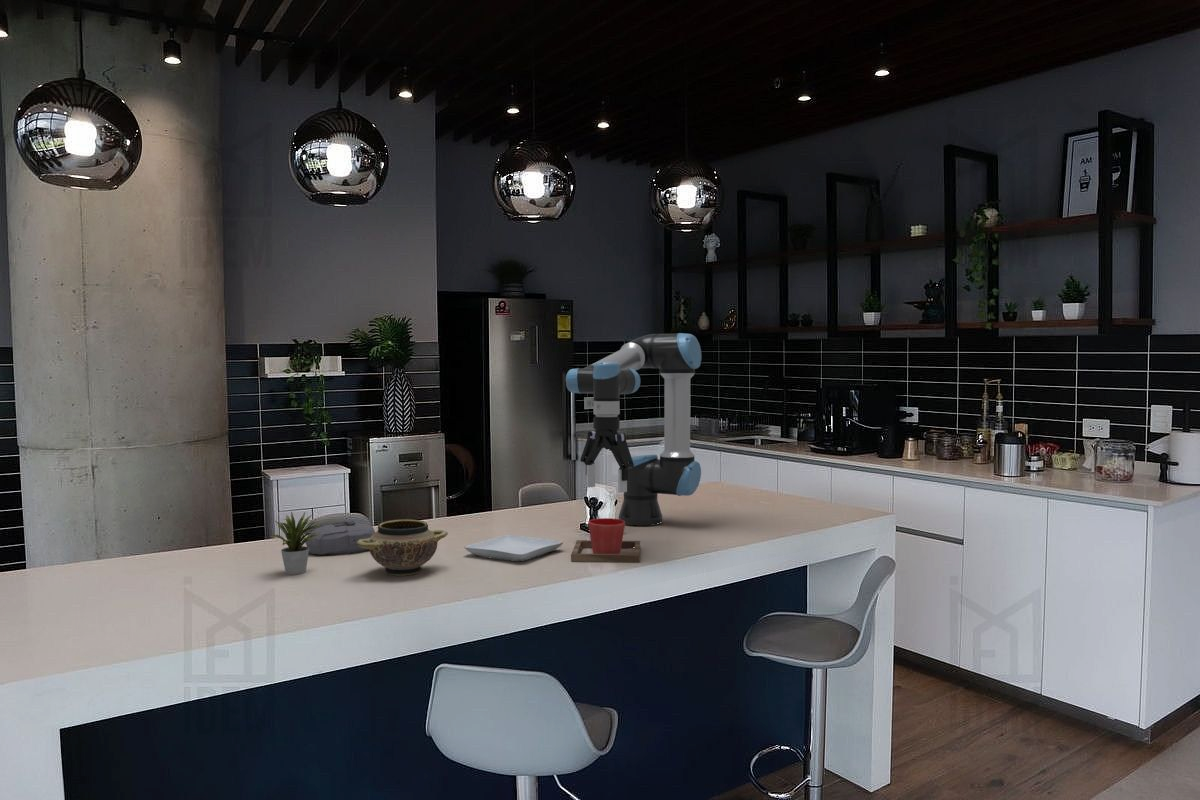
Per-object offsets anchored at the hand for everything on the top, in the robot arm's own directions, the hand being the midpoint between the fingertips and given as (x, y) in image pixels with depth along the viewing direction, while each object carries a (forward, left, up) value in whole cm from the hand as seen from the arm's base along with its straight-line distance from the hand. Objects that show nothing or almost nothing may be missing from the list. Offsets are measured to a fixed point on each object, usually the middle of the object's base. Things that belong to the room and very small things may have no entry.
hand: (606, 489), depth 249 cm
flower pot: (0, 0, -19) cm, 19 cm away
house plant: (+26, -81, -19) cm, 87 cm away
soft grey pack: (-2, -79, -19) cm, 82 cm away
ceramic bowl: (+23, -53, -19) cm, 61 cm away
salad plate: (0, -27, -20) cm, 33 cm away
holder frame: (0, 0, -19) cm, 19 cm away
